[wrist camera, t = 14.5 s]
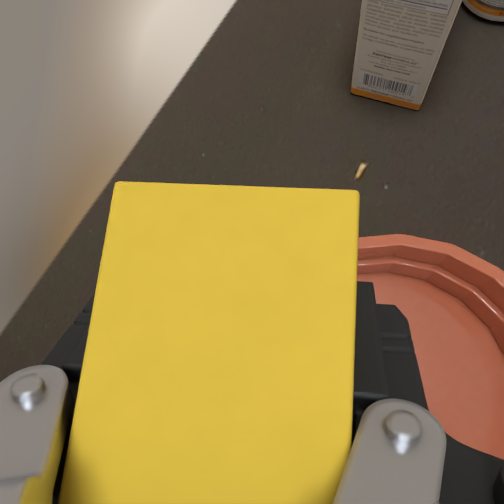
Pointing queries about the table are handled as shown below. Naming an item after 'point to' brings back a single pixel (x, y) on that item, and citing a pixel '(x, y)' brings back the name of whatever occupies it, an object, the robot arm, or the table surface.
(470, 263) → the bowl
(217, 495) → the sponge
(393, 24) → the supplement box
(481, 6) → the pill bottle
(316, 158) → the table surface
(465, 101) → the table surface
